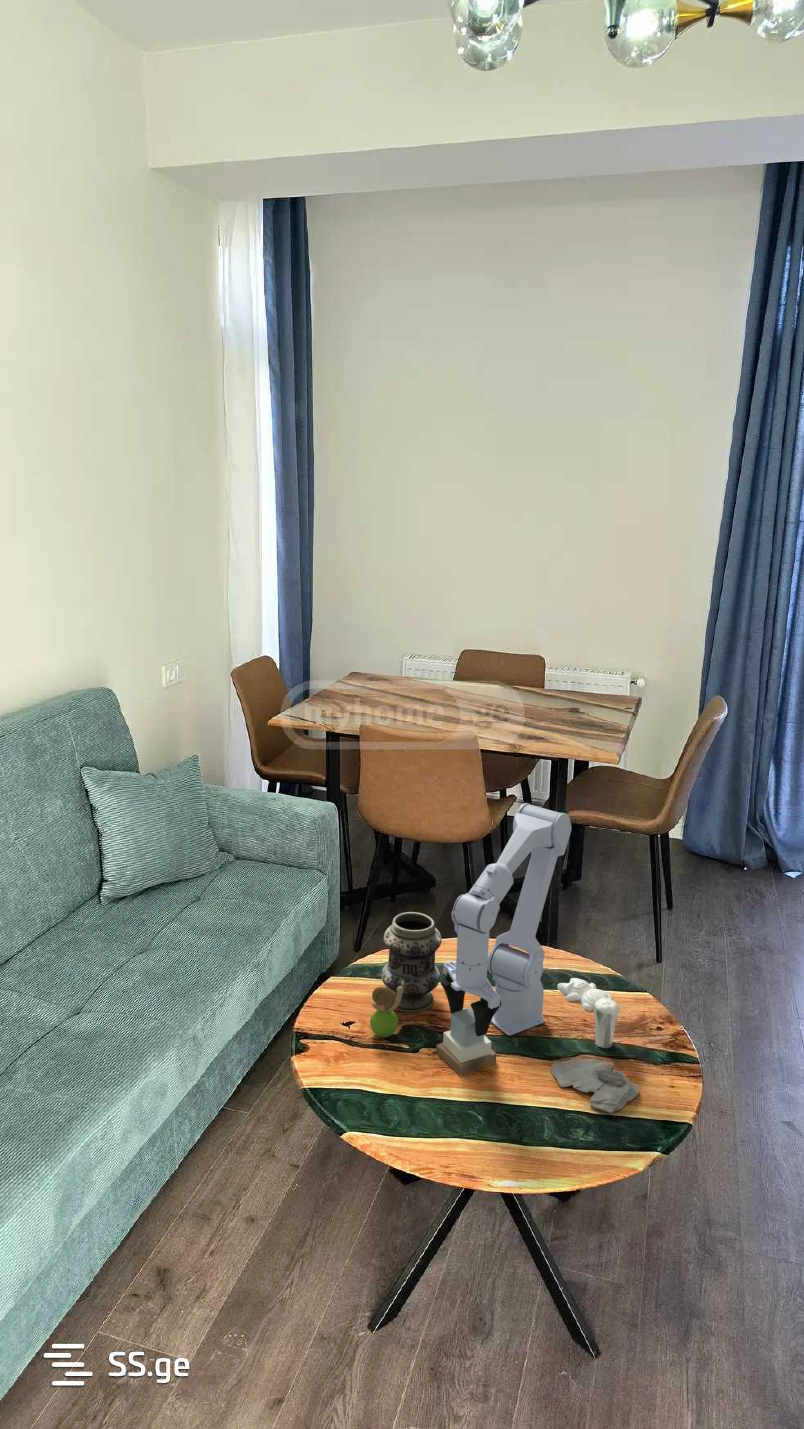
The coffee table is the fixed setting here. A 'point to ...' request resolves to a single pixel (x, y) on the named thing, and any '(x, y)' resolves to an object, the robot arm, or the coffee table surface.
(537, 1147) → the coffee table surface
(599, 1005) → the milkshake
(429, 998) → the apothecary jar
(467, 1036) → the slate block
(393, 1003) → the snail figurine
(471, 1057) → the cream slab
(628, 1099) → the fossil
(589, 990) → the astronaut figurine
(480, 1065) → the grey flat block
